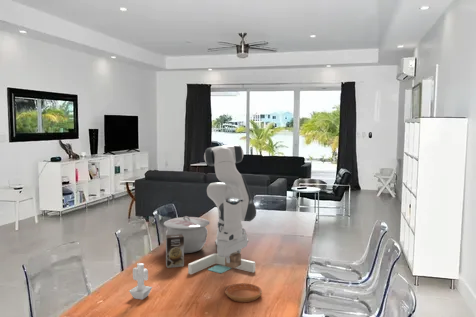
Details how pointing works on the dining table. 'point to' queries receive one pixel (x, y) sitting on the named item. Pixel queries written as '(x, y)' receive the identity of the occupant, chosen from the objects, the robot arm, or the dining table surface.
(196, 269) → the white l-shaped bracket
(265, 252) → the dining table surface
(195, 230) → the chamber pot
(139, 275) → the figurine
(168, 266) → the coffee box
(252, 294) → the saucer
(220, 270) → the pad
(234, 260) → the cube
